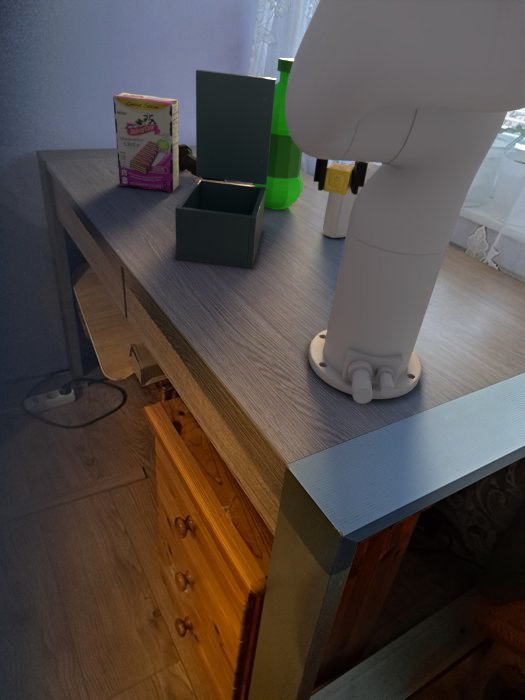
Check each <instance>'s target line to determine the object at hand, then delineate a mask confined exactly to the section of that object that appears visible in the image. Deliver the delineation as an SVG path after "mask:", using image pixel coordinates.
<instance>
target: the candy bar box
mask: <svg viewBox="0 0 525 700" xmlns="http://www.w3.org/2000/svg"><path fill="white" fill-rule="evenodd" d="M112 100H113V101H112V102H113V114H114V128H115V139H116V153H117V166H118V178H119V179H118V180H119V186H120V187H121V186H122V187H130V188H137V189H143V190H144V189H145V190H151V191H152V190H153V191H159V192H167V193H174V192H175V191H176V189H177V188H178V187H179V185H180V173H179V172H180V171H179V147H178V145H180V144H179V143H180V142H179V100H178V99H176V98H175V99H174V98H169V97H168V98H167V97H160V96H154V95H153V96H152V95H146V94H145V95H144V94H137V93H129V92H120V93H117V94H115V95H113V97H112Z"/></svg>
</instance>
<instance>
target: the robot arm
mask: <svg viewBox="0 0 525 700" xmlns="http://www.w3.org/2000/svg"><path fill="white" fill-rule="evenodd" d="M293 59H294V61H293V64H292V68H291V71H290V75H289V79H288V83H287V90H286V98H285V115H286V122H287V127H288V131H289V133H290V136H291V138H292V140H293V142H294V143H295V145H296V146H297V147H298V148H299V149H300V150H301V151H302V153H303V154H305V155H307V156H309V157H311V158H314V159H316V160H315V168H314V174H313V182H314V183H315V182H317V191H321V192H322V191H324V184H325V178H326V172H327V168H328V166H329V161H340V162H341V161H342V162H346V161H347V162H355V165H354V173H353V178H352V182H351V193H353V194H354V195H357V193H358V188H359V187H363V188H362V189H361V190H360V192H359V194H358V195H357V197H356V199H355V201H354V204H353V206H352V209H351V213H350V217H349V222H348V228H347V233H346V237H345V238H344V243H343V248H342V253H341V258H340V264H339V268H338V274H337V279H336V284H335V287H334V288H335V289H334V293H333V298H332V299H333V300H332V304H331V308H330V314H329V319H328V324H327V328H326V329H325V330H322V331H320V332H319V333H317V334H316V335H315V336H314V337H313V339H311V342H310V344H309V348H308V362H309V364H310V366H311V367H310V368H311V369H312V370H313V371H314V373H315V374H316V375H317V376H318V377H319V378H320V379H321V380H322V381H323V382H325V383H326V384H327V385H329V386H331V387H332V388H334V389H336V390H338V391H340V392H343V393H346V394H348V395H350V396H352V398H353V401H354V402H356V403H357V404H368V403H370V402H371V401H372V400H389V399H393V398H399V397H402V396H404V395H406V394H408V393H410V392H412V390H414V389H415V388H416V386H417V385H418V383H419V380H420V378H421V375H422V370H423V369H422V363H421V361H420V359H419V357H418V355H417V354H416V352H415V351H414V349H415V346H416V343H417V341H418V337H419V334H420V331H421V329H422V325H423V322H424V320H425V316H426V312H427V310H428V307H429V303H430V300H431V298H432V294H433V291H434V289H435V286H436V283H437V280H438V277H439V273H440V271H441V268H442V264H443V262H444V259H445V256H446V252H447V250H448V247H449V245H450V242H451V239H452V236H453V234H454V229H455V227H456V224H457V222H458V219H459V216H460V213H461V210H462V208H463V205H464V203H465V201H466V198H467V196H468V192H469V190H470V189H471V186H472V185H473V182H474V180H475V177H476V175H477V173H478V172H479V170H480V168H481V166H482V165H483V162H484V160H485V159H486V157H487V155H488V153H489V152H490V149H491V148H492V146H493V144H494V142H495V141H496V139H497V137H498V135H499V134H500V133H499V132H500V131H501V129H502V127H503V125H504V122H505V120H506V117H507V114H508V113H509V112H514V111H519V110H522V109H525V0H319V1H318V3H317V6H316V8H315V9H314V12H313V15H312V16H311V18H310V20H309V23H308V25H307V28H306V30H305V31H304V34H303V36H302V39H301V40H300V44H299V46H298V48H297V50H296V53H295V56H294V58H293ZM369 162H373V163H376V164H379V163H380V164H381V165H380V167H379V168H378V169H377V170H376V172H375V173H374V174H373V175H372V176H371V177H370V179H369V180H368V181H367V182H366V183H365V185H364V182H365V177H366V172H367V167H368V163H369Z"/></svg>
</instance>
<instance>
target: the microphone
mask: <svg viewBox="0 0 525 700" xmlns="http://www.w3.org/2000/svg"><path fill="white" fill-rule="evenodd" d="M178 147H179V172H180V171H187V172H190V174H191V175H192V176H194V177H197V176H196V156H195V155H194V154H193V149H192V148H190V147H189V146H188V145H187V144H186V143H182V144H178ZM200 179H203V180H211V181H219V182H226V180H220V179H212V178H204V177H200Z"/></svg>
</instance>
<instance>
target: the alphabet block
mask: <svg viewBox="0 0 525 700" xmlns="http://www.w3.org/2000/svg"><path fill="white" fill-rule="evenodd" d="M353 173H354V167H353V166H348V165H346V164H342V163H337V162H332V163H331V164H329V165H328V166H327V172H326V178H325V184H324V190H323V191H324V192H326V193H327V192H328V193H329V192H332V193H337V194H341V195H345V194H346V193H347V192H348V190H349V189H350V187H351V182H352V178H353Z"/></svg>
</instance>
